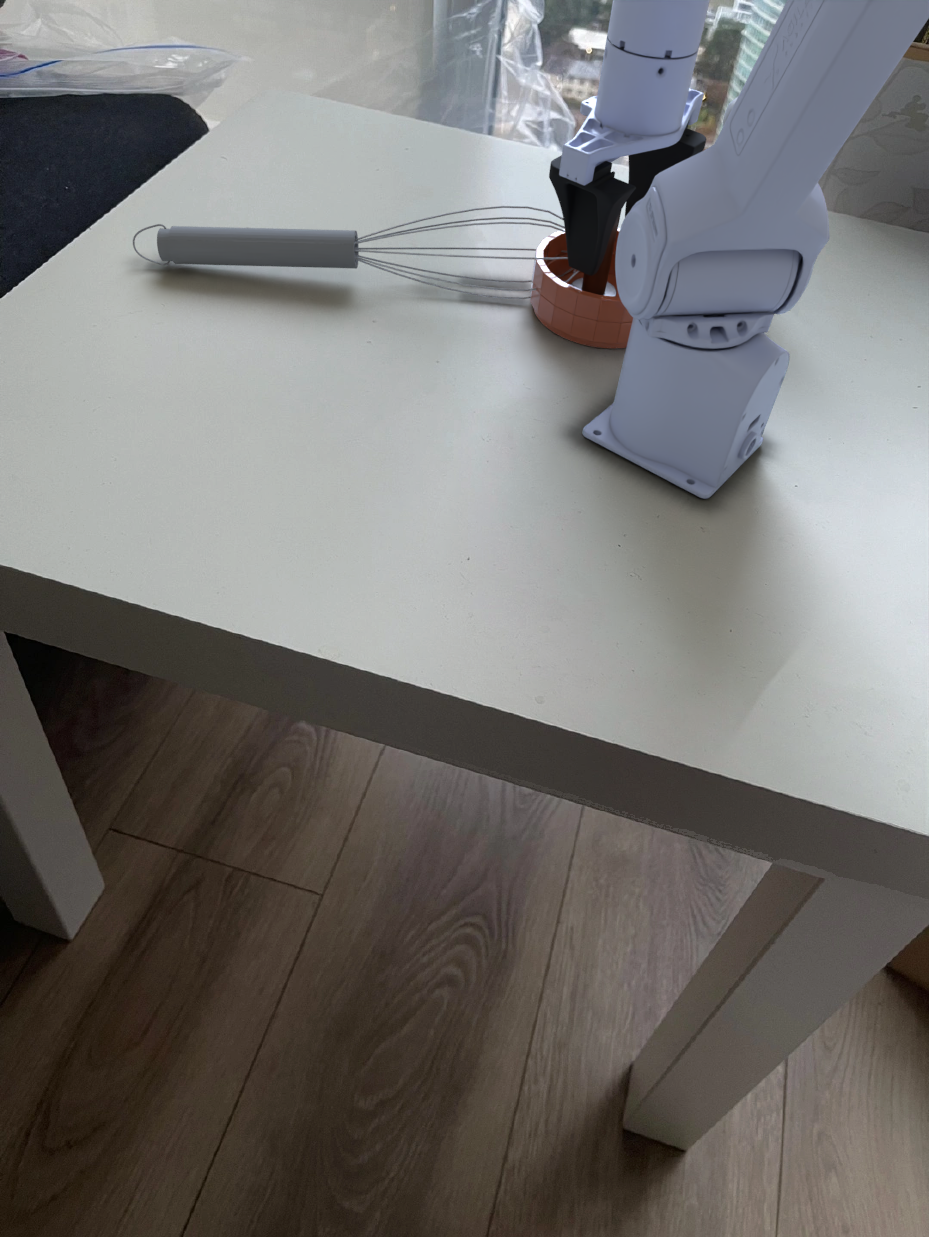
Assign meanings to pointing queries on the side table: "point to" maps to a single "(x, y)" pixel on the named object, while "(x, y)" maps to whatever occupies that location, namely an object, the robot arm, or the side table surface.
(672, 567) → the side table surface
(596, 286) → the coffee tamper
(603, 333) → the bowl
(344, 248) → the kitchen whisk
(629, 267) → the robot arm
